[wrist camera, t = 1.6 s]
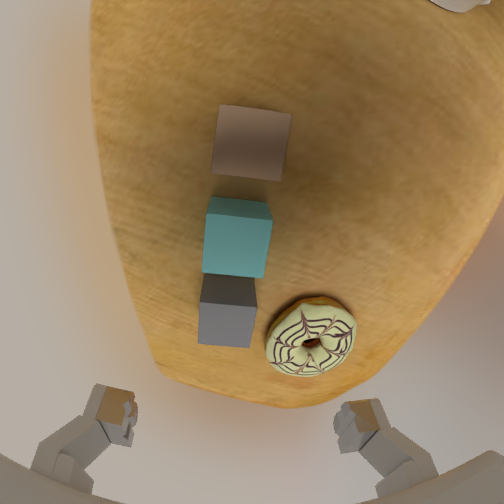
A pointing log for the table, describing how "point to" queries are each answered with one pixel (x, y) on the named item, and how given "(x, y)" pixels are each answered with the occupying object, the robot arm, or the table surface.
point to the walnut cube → (250, 142)
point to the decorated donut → (310, 326)
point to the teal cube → (236, 237)
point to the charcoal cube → (227, 311)
